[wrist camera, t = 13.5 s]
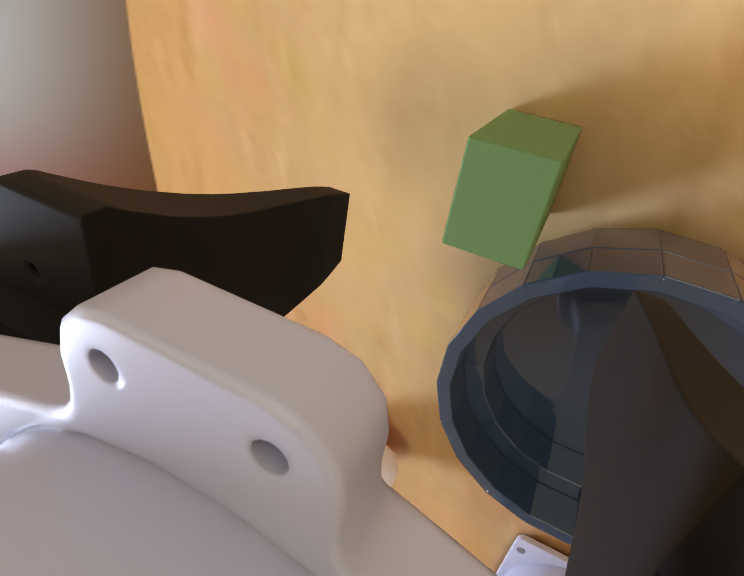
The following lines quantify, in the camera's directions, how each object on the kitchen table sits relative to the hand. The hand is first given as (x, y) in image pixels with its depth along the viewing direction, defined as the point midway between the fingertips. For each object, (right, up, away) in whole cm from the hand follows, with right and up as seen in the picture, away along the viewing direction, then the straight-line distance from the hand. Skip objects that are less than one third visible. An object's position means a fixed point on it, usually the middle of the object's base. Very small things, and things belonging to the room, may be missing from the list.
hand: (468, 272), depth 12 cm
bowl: (+8, -4, +9) cm, 13 cm away
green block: (+4, +4, +7) cm, 9 cm away
